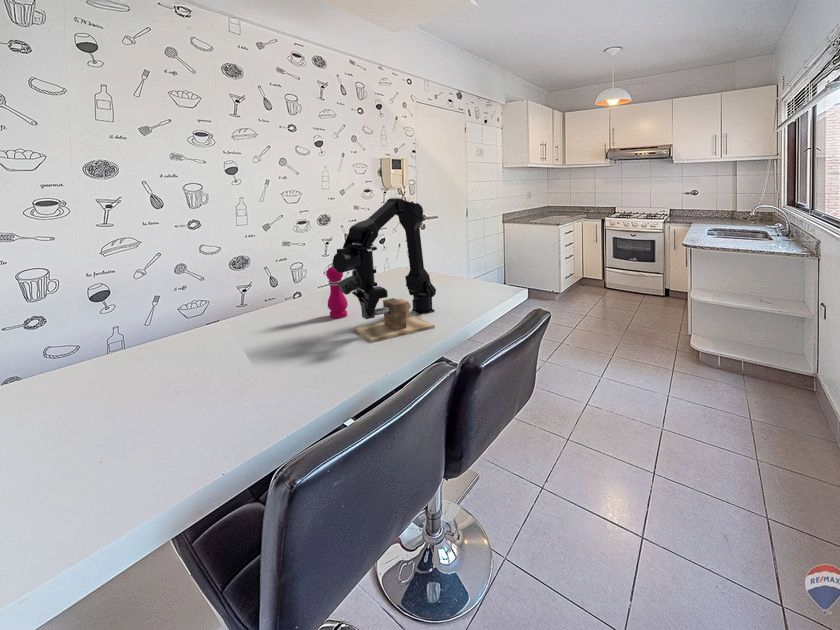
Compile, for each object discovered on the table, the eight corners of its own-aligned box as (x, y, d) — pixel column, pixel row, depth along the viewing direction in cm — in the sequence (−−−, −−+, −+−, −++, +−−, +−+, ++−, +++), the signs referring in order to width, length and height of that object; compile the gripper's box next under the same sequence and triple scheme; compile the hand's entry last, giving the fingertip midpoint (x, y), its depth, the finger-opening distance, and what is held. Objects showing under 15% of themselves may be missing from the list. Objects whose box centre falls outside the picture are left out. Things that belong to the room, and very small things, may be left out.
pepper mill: (344, 319, 161) (339, 264, 155) (325, 318, 163) (320, 264, 157) (351, 313, 168) (346, 260, 162) (333, 313, 169) (328, 260, 164)
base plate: (413, 317, 160) (413, 315, 159) (434, 327, 148) (434, 324, 148) (353, 330, 149) (353, 327, 148) (371, 342, 137) (371, 339, 137)
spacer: (401, 313, 152) (400, 298, 150) (409, 317, 147) (408, 301, 146) (396, 314, 151) (395, 299, 149) (404, 318, 146) (403, 302, 145)
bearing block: (395, 321, 153) (393, 298, 150) (406, 327, 146) (405, 303, 143) (384, 324, 151) (383, 300, 148) (395, 330, 144) (394, 305, 142)
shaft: (407, 308, 151) (406, 293, 149) (411, 310, 148) (411, 295, 147) (362, 317, 143) (360, 301, 141) (366, 319, 140) (365, 303, 139)
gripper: (328, 265, 141) (333, 313, 146) (351, 275, 126) (356, 327, 130) (361, 261, 147) (364, 307, 151) (386, 269, 131) (390, 320, 136)
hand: (367, 315), depth 142 cm, fingers closed on shaft, 3 cm apart
